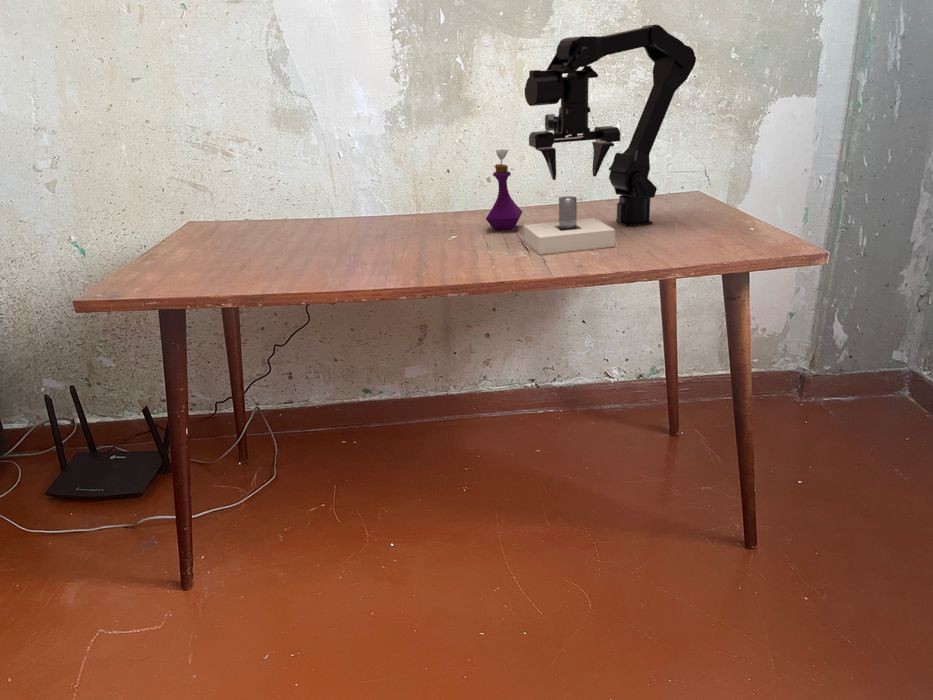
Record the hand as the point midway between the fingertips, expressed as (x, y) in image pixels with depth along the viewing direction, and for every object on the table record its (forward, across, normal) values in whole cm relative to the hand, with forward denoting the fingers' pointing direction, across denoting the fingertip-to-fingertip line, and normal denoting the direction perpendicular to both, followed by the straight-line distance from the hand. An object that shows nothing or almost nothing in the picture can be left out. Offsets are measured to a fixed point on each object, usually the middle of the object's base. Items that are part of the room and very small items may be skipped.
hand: (574, 178), depth 153 cm
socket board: (+12, +4, +9) cm, 16 cm away
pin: (+11, +4, +9) cm, 15 cm away
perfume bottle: (+12, +14, -10) cm, 21 cm away
